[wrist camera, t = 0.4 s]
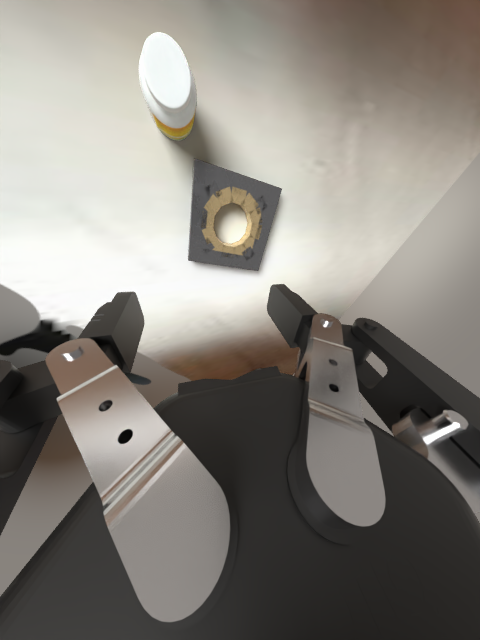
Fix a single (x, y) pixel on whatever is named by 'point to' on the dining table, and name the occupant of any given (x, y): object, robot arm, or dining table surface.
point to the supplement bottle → (168, 86)
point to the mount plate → (213, 193)
